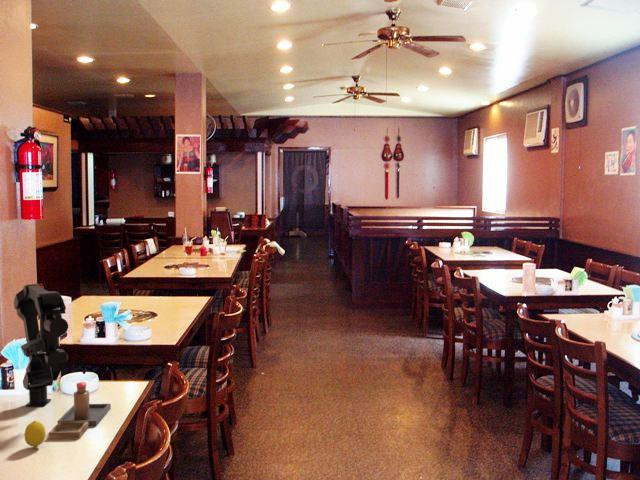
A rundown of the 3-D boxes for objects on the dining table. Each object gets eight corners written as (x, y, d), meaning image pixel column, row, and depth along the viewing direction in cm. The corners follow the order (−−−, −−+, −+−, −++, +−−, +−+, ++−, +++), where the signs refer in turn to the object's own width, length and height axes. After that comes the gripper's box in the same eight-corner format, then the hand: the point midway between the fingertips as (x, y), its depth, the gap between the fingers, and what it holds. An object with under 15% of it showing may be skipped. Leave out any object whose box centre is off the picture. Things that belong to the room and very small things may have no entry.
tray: (74, 409, 213) (74, 404, 213) (110, 408, 213) (110, 403, 213) (57, 426, 197) (57, 421, 197) (96, 426, 198) (96, 420, 197)
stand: (59, 428, 196) (59, 421, 196) (88, 427, 196) (88, 421, 196) (48, 439, 187) (48, 432, 187) (79, 438, 188) (79, 432, 187)
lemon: (37, 452, 178) (37, 425, 177) (20, 450, 179) (19, 423, 178) (49, 444, 183) (49, 418, 183) (33, 443, 184) (32, 416, 184)
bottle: (76, 415, 204) (76, 381, 203) (91, 415, 205) (90, 381, 204) (72, 420, 200) (71, 385, 199) (87, 420, 200) (86, 385, 199)
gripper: (15, 328, 207) (17, 375, 208) (30, 339, 192) (32, 389, 193) (50, 324, 214) (52, 369, 215) (68, 334, 199) (69, 382, 200)
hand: (50, 377), depth 206 cm, fingers open, 9 cm apart
